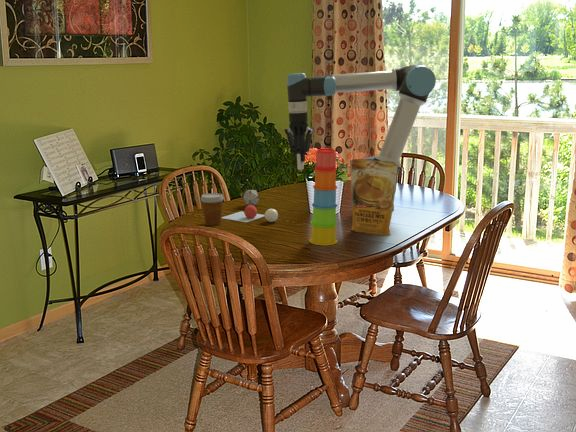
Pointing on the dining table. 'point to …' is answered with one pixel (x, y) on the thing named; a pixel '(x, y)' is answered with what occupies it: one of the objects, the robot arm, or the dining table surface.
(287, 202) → the dining table surface
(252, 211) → the red ball
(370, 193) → the pancake mix bag
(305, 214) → the dining table surface
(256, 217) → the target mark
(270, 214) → the cue ball
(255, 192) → the game die
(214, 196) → the disposable coffee cup
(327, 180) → the stacking cups
